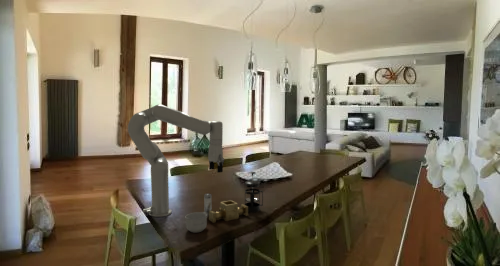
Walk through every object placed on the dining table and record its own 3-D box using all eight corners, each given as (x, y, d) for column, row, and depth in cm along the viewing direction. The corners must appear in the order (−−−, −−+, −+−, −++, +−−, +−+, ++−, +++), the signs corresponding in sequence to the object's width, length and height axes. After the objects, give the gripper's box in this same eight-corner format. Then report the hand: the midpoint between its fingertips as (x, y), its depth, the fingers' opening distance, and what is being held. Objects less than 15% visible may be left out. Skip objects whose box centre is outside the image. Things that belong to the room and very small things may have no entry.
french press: (242, 212, 196) (242, 173, 194) (244, 207, 206) (244, 170, 203) (262, 212, 195) (262, 174, 193) (263, 207, 205) (263, 170, 202)
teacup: (194, 236, 160) (194, 220, 160) (180, 230, 168) (180, 215, 167) (215, 228, 171) (215, 213, 170) (202, 223, 178) (202, 208, 177)
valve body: (214, 223, 177) (214, 208, 176) (207, 219, 184) (207, 204, 183) (249, 216, 189) (249, 201, 189) (241, 212, 196) (241, 198, 195)
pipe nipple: (206, 216, 188) (206, 195, 187) (203, 214, 191) (203, 194, 190) (212, 215, 190) (212, 194, 189) (209, 213, 193) (209, 193, 192)
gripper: (203, 141, 201) (203, 168, 203) (217, 144, 187) (217, 174, 189) (214, 140, 206) (214, 167, 207) (229, 143, 192) (228, 172, 193)
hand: (215, 170), depth 198 cm, fingers open, 9 cm apart
